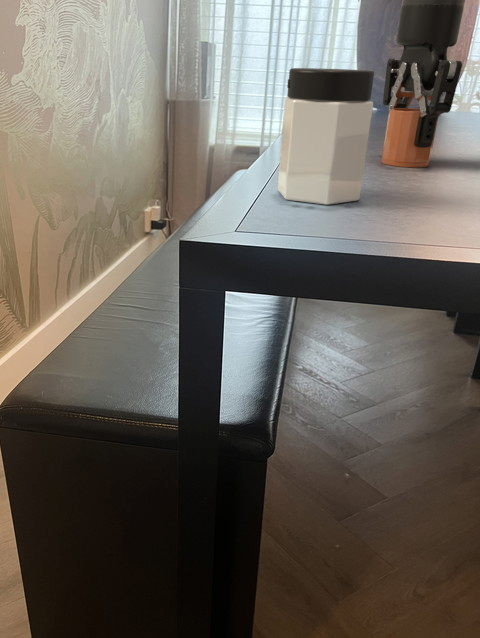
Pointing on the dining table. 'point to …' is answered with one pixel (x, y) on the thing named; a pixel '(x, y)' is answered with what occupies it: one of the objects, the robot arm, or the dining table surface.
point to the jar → (325, 135)
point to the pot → (404, 140)
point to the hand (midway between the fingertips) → (407, 143)
